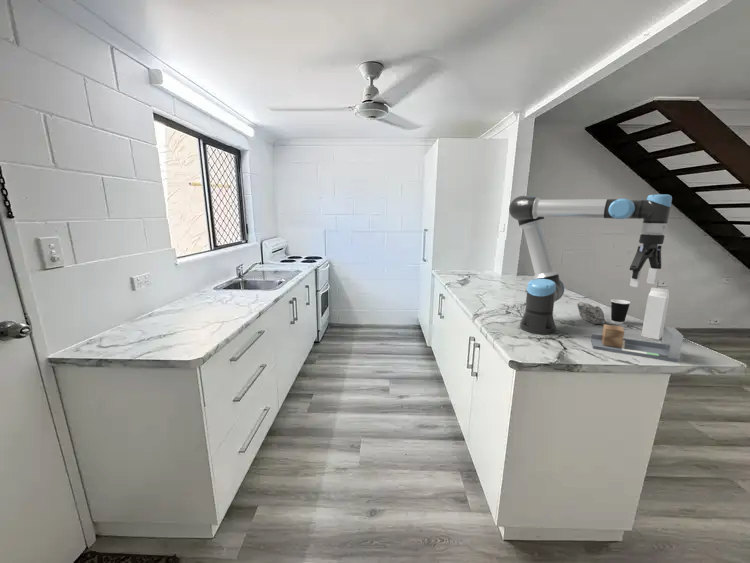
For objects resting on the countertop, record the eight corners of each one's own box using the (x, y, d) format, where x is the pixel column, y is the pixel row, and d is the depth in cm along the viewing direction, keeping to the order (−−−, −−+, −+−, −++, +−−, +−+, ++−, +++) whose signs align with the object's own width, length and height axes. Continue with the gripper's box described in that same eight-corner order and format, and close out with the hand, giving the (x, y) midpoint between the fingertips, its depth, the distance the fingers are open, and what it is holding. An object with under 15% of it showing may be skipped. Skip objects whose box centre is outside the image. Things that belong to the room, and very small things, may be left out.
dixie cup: (603, 320, 164) (606, 299, 161) (618, 319, 164) (621, 299, 162) (616, 325, 156) (620, 303, 154) (631, 324, 156) (635, 303, 154)
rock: (572, 314, 171) (575, 298, 168) (588, 314, 171) (592, 297, 167) (588, 329, 157) (592, 311, 153) (606, 329, 156) (610, 311, 152)
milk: (658, 340, 137) (667, 290, 132) (640, 336, 141) (649, 288, 137) (662, 337, 140) (671, 288, 136) (644, 333, 145) (653, 286, 140)
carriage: (603, 345, 127) (606, 329, 126) (601, 340, 133) (603, 324, 132) (624, 349, 124) (626, 332, 123) (621, 343, 130) (623, 326, 129)
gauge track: (592, 348, 128) (593, 341, 128) (590, 340, 137) (591, 333, 136) (678, 362, 116) (679, 354, 115) (669, 352, 124) (671, 344, 124)
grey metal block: (668, 357, 117) (672, 334, 115) (660, 348, 126) (664, 326, 124) (678, 359, 116) (683, 336, 114) (670, 349, 124) (674, 327, 122)
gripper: (648, 235, 119) (637, 289, 124) (678, 234, 130) (667, 284, 135) (625, 234, 126) (616, 285, 130) (656, 232, 137) (646, 280, 141)
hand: (642, 285), depth 133 cm, fingers open, 13 cm apart
